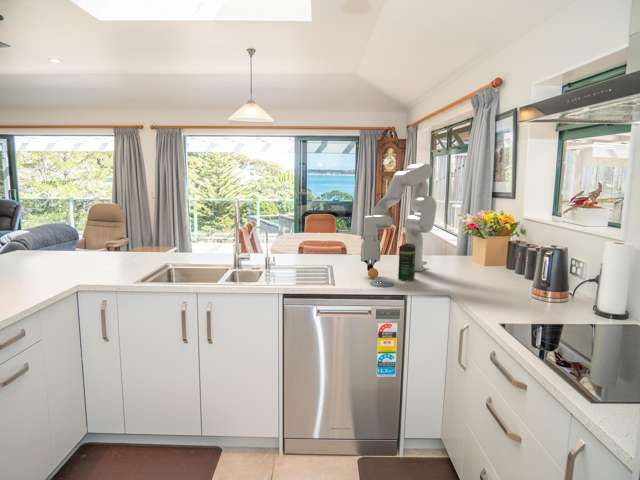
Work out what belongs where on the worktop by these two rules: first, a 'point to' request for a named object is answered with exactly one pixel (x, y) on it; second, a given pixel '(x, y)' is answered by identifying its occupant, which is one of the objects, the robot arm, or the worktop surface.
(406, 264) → the coffee jar
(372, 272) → the ball
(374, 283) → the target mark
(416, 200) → the robot arm
